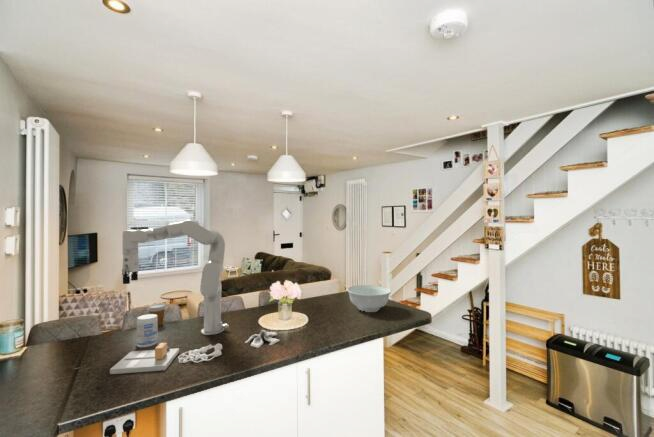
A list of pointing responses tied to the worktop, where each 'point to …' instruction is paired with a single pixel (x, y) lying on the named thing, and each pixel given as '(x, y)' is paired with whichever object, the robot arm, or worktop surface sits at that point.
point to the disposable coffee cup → (158, 312)
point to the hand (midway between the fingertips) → (130, 281)
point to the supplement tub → (147, 330)
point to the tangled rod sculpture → (203, 356)
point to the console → (144, 361)
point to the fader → (160, 350)
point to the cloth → (262, 338)
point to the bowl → (368, 297)
